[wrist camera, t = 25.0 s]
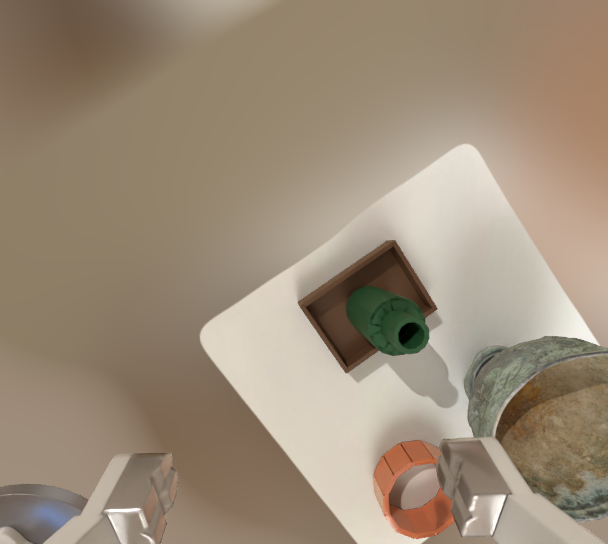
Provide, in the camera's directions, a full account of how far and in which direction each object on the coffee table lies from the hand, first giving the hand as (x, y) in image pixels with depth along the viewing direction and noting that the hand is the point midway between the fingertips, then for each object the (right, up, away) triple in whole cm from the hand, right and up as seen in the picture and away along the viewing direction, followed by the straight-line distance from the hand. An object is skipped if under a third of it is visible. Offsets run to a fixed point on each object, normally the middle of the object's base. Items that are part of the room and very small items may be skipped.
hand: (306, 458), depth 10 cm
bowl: (+28, -11, +38) cm, 49 cm away
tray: (+8, +1, +35) cm, 36 cm away
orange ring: (+16, -25, +38) cm, 48 cm away
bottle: (+9, +1, +34) cm, 35 cm away
